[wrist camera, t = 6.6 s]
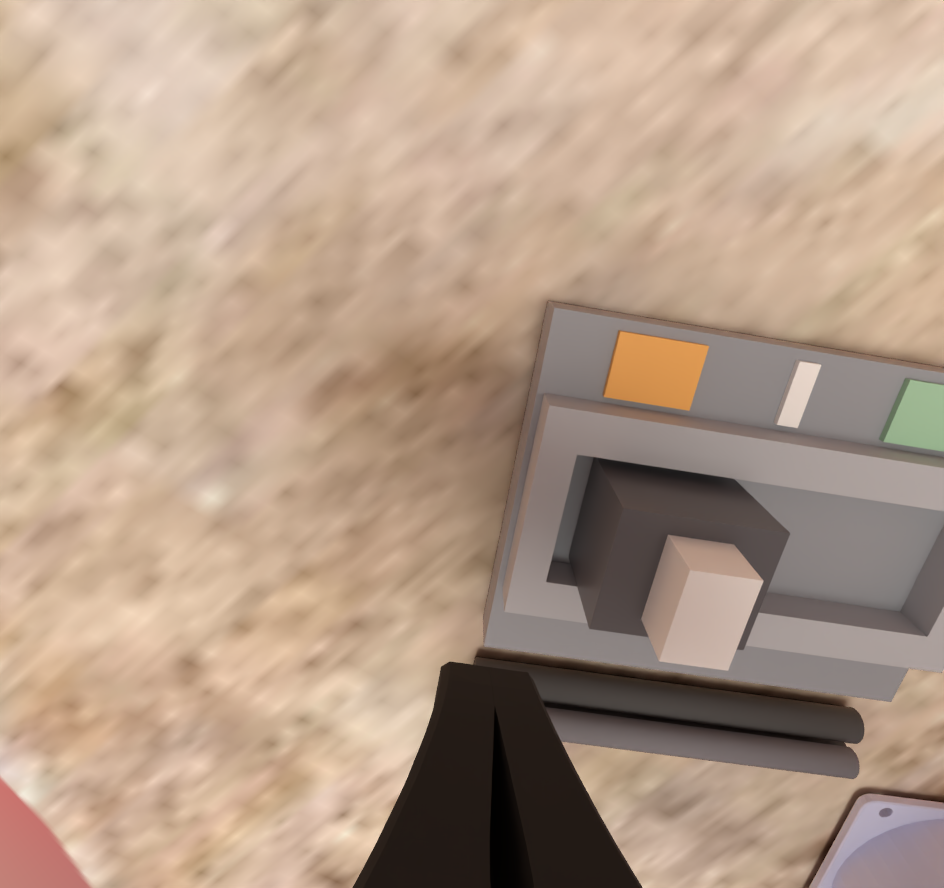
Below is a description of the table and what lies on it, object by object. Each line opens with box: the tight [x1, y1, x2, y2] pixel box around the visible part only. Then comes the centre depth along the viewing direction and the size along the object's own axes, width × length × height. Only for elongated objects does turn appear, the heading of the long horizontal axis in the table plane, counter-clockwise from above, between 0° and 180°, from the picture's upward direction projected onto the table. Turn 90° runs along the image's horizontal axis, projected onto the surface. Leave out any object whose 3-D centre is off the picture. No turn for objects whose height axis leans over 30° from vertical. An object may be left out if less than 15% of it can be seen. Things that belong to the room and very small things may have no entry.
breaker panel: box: [483, 301, 944, 702], centre depth 18 cm, size 14×11×3 cm
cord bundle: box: [474, 657, 864, 779], centre depth 21 cm, size 14×3×2 cm, turn 81°
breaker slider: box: [569, 457, 790, 671], centre depth 15 cm, size 4×3×5 cm
